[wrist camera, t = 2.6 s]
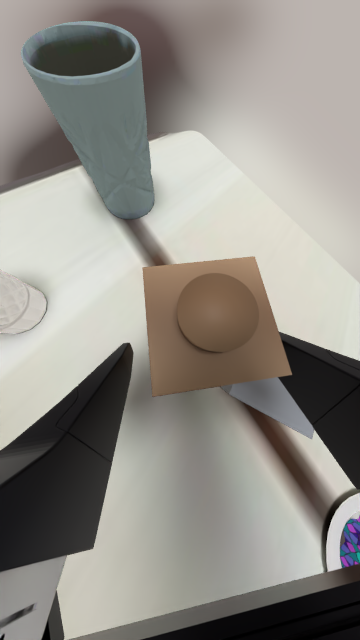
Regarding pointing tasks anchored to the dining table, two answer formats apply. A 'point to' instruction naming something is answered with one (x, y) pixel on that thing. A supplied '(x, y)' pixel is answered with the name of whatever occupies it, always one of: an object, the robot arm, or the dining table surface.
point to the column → (210, 326)
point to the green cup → (98, 106)
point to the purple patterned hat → (356, 535)
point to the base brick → (272, 402)
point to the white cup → (19, 305)
